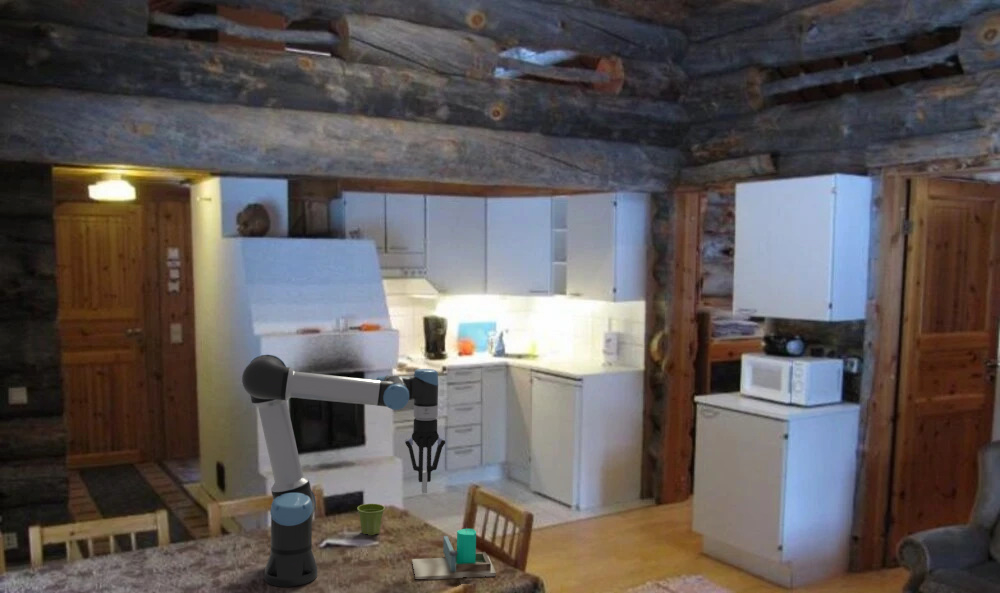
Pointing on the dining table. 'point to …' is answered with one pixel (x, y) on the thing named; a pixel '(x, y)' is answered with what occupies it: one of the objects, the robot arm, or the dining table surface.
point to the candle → (466, 546)
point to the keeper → (450, 554)
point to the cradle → (441, 569)
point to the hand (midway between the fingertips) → (424, 491)
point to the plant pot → (370, 518)
